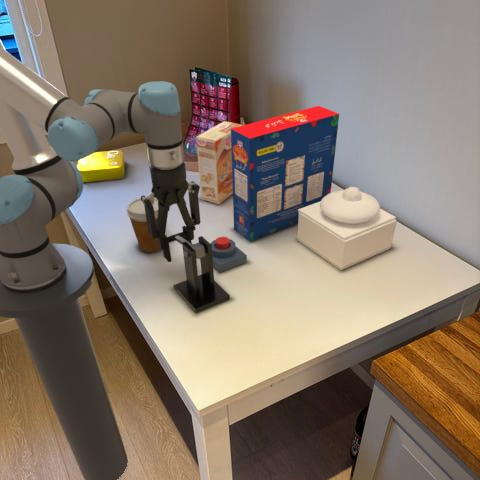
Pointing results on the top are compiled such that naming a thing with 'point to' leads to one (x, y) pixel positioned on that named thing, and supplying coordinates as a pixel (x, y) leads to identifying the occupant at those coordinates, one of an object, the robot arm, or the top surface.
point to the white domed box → (346, 227)
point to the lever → (180, 238)
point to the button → (222, 243)
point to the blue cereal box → (281, 169)
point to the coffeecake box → (216, 162)
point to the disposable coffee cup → (142, 225)
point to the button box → (227, 257)
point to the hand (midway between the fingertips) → (178, 255)
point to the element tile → (102, 166)
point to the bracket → (200, 280)
